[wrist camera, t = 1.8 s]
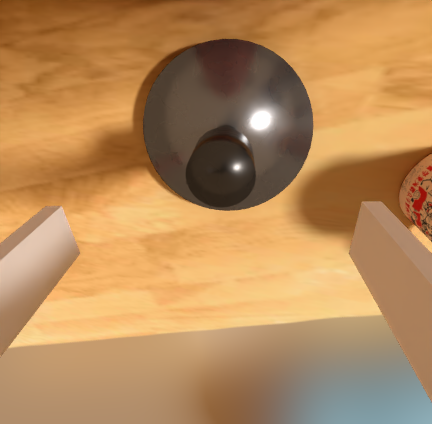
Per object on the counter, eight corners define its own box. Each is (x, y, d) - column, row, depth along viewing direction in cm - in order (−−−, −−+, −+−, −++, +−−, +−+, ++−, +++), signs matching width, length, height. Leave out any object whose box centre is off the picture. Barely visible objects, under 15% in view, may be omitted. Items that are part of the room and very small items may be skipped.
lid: (222, -11, 20) (209, -54, 11) (344, 130, 24) (399, 173, 16) (118, 137, 26) (60, 179, 18) (229, 227, 31) (226, 295, 22)
